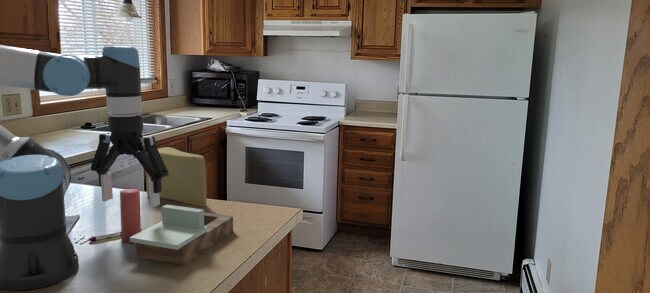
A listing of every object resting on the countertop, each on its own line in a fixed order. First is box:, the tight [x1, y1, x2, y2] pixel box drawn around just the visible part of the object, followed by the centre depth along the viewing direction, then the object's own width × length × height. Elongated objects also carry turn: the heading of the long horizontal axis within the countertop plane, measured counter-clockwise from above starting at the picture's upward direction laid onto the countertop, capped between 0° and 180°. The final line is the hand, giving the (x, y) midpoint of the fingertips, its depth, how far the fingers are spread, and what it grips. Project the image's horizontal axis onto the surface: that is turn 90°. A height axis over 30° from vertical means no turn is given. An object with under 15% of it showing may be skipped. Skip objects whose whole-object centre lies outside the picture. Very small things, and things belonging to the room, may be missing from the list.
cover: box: [130, 204, 208, 250], centre depth 110 cm, size 12×12×5 cm
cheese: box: [145, 146, 208, 207], centre depth 151 cm, size 22×10×15 cm, turn 55°
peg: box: [119, 188, 142, 244], centre depth 118 cm, size 4×4×12 cm
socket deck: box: [135, 211, 234, 266], centre depth 117 cm, size 22×12×4 cm, turn 162°
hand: (130, 202), depth 118 cm, fingers open, 13 cm apart
